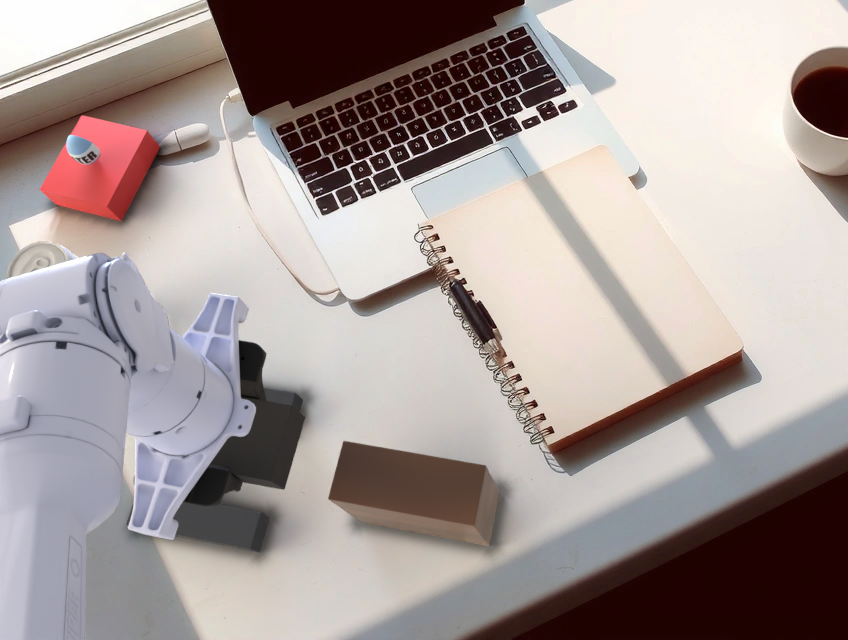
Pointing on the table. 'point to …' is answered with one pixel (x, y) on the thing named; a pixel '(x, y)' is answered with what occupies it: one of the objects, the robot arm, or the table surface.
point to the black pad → (264, 445)
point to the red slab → (100, 167)
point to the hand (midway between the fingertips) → (239, 444)
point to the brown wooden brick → (415, 492)
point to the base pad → (228, 509)
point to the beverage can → (38, 258)
